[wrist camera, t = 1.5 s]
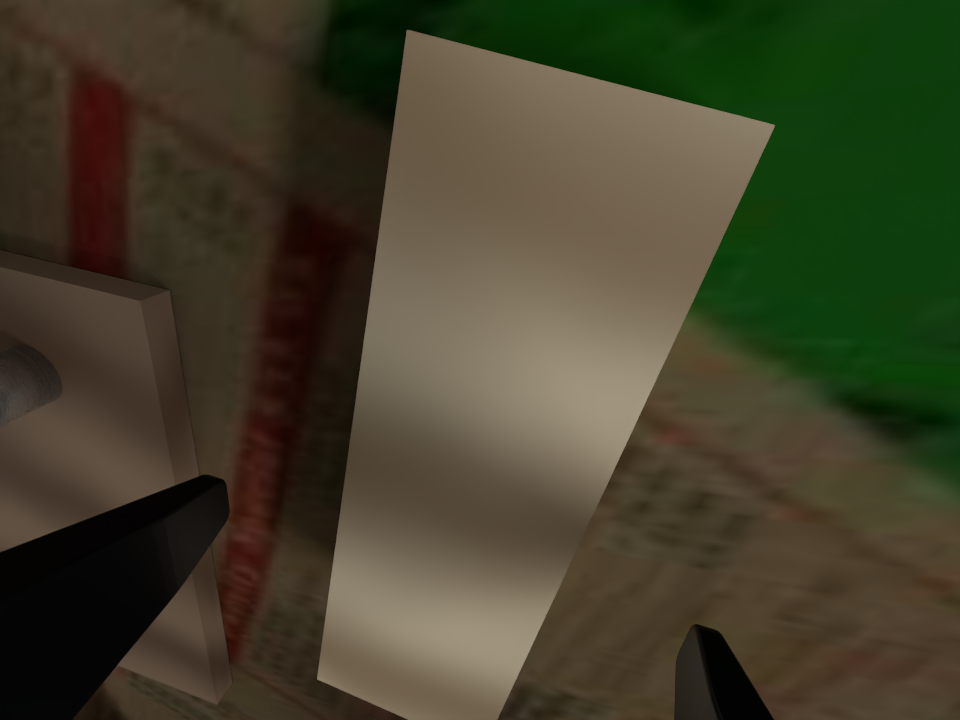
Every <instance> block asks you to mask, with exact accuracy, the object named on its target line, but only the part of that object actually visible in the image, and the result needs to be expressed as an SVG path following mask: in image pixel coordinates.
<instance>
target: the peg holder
mask: <svg viewBox="0 0 960 720" xmlns="http://www.w3.org/2000/svg"><path fill="white" fill-rule="evenodd" d="M198 476H199V471H198V465H197V458H196V452H195V446H194V440H193V433H192V427H191V421H190V415H189V409H188V402H187V396H186V390H185V384H184V377H183V371H182V365H181V359H180V353H179V346H178V340H177V334H176V328H175V321H174V315H173V309H172V303H171V297H170V290H167V289H163V288H158V287H154V286H150V285H146V284H141V283H137V282H133V281H129V280H125V279H120V278H116V277H112V276H108V275H103V274H99V273H95V272H91V271H86V270H82V269H78V268H74V267H70V266H65V265H61V264H57V263H53V262H48V261H44V260H40V259H36V258H32V257H27V256H23V255H19V254H15V253H10V252H6V251H2V250H0V552H2V551H4V550H7V549H10V548H12V547H15V546H17V545H20V544H23V543H25V542H28V541H31V540H33V539H36V538H38V537H41V536H44V535H46V534H49V533H52V532H54V531H57V530H59V529H62V528H65V527H67V526H70V525H72V524H75V523H78V522H80V521H83V520H86V519H88V518H91V517H93V516H96V515H99V514H101V513H104V512H106V511H109V510H112V509H114V508H117V507H120V506H122V505H125V504H127V503H130V502H133V501H135V500H138V499H141V498H143V497H146V496H148V495H151V494H154V493H156V492H159V491H161V490H164V489H167V488H169V487H172V486H175V485H177V484H180V483H182V482H185V481H188V480H190V479H193V478H195V477H198ZM118 666H120V667H123V668H125V669H128V670H130V671H133V672H135V673H138V674H140V675H143V676H146V677H148V678H151V679H153V680H156V681H158V682H161V683H163V684H166V685H168V686H171V687H173V688H176V689H178V690H181V691H183V692H186V693H189V694H191V695H194V696H196V697H199V698H201V699H204V700H206V701H209V702H211V703H214V704H216V705H217V704H218V703H219V701H220V700H221V699H222V697H223V696H224V694H225V693H226V691H227V690H228V689H229V687H230V686H231V684H232V683H233V682H232V676H231V670H230V664H229V658H228V651H227V645H226V639H225V633H224V626H223V620H222V614H221V608H220V602H219V595H218V589H217V583H216V577H215V570H214V564H213V558H212V552H211V546H209V548H208V549H207V551H206V552H205V554H204V555H203V556H202V558H201V559H200V561H199V562H198V564H197V565H196V567H195V568H194V570H193V571H192V573H191V574H190V575H189V577H188V578H187V580H186V581H185V583H184V584H183V585H182V587H181V588H180V589H179V591H178V592H177V593H176V595H175V596H174V597H173V598H172V600H171V601H170V602H169V603H168V605H167V606H166V607H165V608H164V609H163V611H162V612H161V613H160V614H159V615H158V617H157V618H156V619H155V620H154V622H153V623H152V624H151V625H150V626H149V628H148V629H147V630H146V631H145V632H144V634H143V635H142V636H141V637H140V638H139V640H138V641H137V642H136V643H135V645H134V646H133V647H132V648H131V649H130V651H129V652H128V653H127V654H126V655H125V657H124V658H123V659H122V660H121V661H120V663H119V664H118Z"/></svg>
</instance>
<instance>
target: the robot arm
mask: <svg viewBox="0 0 960 720" xmlns="http://www.w3.org/2000/svg"><path fill="white" fill-rule="evenodd" d="M229 511H230V509H229V501H228V493H227V486H226V483H225V481H224V480H223V479H220V478H217V477H214V476H211V475H201V476H198V477H195V478H193V479H190V480H188V481H185V482H182V483H180V484H177V485H175V486H172V487H169V488H167V489H164V490H161V491H159V492H156V493H154V494H151V495H148V496H146V497H143V498H141V499H138V500H135V501H133V502H130V503H127V504H125V505H122V506H120V507H117V508H114V509H112V510H109V511H106V512H104V513H101V514H99V515H96V516H93V517H91V518H88V519H86V520H83V521H80V522H78V523H75V524H72V525H70V526H67V527H65V528H62V529H59V530H57V531H54V532H52V533H49V534H46V535H44V536H41V537H38V538H36V539H33V540H31V541H28V542H25V543H23V544H20V545H17V546H15V547H12V548H10V549H7V550H4V551H2V552H0V720H72V719H73V718H74V717H75V716H76V715H77V713H78V712H79V711H80V710H81V709H82V707H83V706H84V705H85V704H86V703H87V701H88V700H89V699H90V698H91V697H92V695H93V694H94V693H95V692H96V690H97V689H98V688H99V687H100V686H101V684H102V683H103V682H104V681H105V680H106V678H107V677H108V676H109V675H110V674H111V672H112V671H113V670H114V669H115V667H116V666H117V665H118V664H119V663H120V661H121V660H122V659H123V658H124V657H125V655H126V654H127V653H128V652H129V651H130V649H131V648H132V647H133V646H134V645H135V643H136V642H137V641H138V640H139V638H140V637H141V636H142V635H143V634H144V632H145V631H146V630H147V629H148V628H149V626H150V625H151V624H152V623H153V622H154V620H155V619H156V618H157V617H158V615H159V614H160V613H161V612H162V611H163V609H164V608H165V607H166V606H167V605H168V603H169V602H170V601H171V600H172V598H173V597H174V596H175V595H176V593H177V592H178V591H179V589H180V588H181V587H182V585H183V584H184V583H185V581H186V580H187V578H188V577H189V575H190V574H191V573H192V571H193V570H194V568H195V567H196V565H197V564H198V562H199V561H200V559H201V558H202V556H203V555H204V554H205V552H206V551H207V549H208V548H209V546H210V545H211V543H212V542H213V540H214V539H215V537H216V536H217V534H218V533H219V532H220V530H221V529H222V527H223V526H224V524H225V523H226V521H227V519H228V516H229ZM674 720H774V719H773V717H772V716H771V714H770V712H769V711H768V709H767V707H766V706H765V704H764V702H763V701H762V699H761V698H760V696H759V694H758V693H757V691H756V689H755V688H754V686H753V685H752V683H751V681H750V680H749V678H748V676H747V675H746V673H745V672H744V670H743V668H742V667H741V665H740V663H739V662H738V660H737V658H736V657H735V655H734V654H733V652H732V650H731V649H730V647H729V645H728V644H727V642H726V641H725V639H724V637H723V636H722V634H721V633H720V632H718V631H717V630H715V629H711V628H708V627H705V626H702V625H698V624H695V625H693V626H692V627H691V628H690V630H689V632H688V634H687V636H686V638H685V640H684V642H683V644H682V647H681V649H680V651H679V653H678V656H677V661H676V675H675V715H674Z"/></svg>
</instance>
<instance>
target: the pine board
mask: <svg viewBox="0 0 960 720" xmlns="http://www.w3.org/2000/svg"><path fill="white" fill-rule="evenodd" d="M774 127H775V125H772V124H769V123H765V122H761V121H757V120H753V119H749V118H745V117H742V116H738V115H734V114H730V113H726V112H722V111H718V110H715V109H711V108H707V107H703V106H699V105H695V104H692V103H688V102H684V101H680V100H676V99H672V98H668V97H665V96H661V95H657V94H653V93H649V92H645V91H641V90H638V89H634V88H630V87H626V86H622V85H618V84H615V83H611V82H607V81H603V80H599V79H595V78H591V77H588V76H584V75H580V74H576V73H572V72H568V71H565V70H561V69H557V68H553V67H549V66H545V65H541V64H538V63H534V62H530V61H526V60H522V59H518V58H514V57H511V56H507V55H503V54H499V53H495V52H491V51H488V50H484V49H480V48H476V47H472V46H468V45H464V44H461V43H457V42H453V41H449V40H445V39H441V38H437V37H434V36H430V35H426V34H422V33H418V32H414V31H411V30H407V33H406V40H405V47H404V54H403V62H402V69H401V76H400V83H399V91H398V98H397V105H396V112H395V119H394V127H393V134H392V141H391V148H390V156H389V163H388V170H387V177H386V184H385V192H384V199H383V206H382V213H381V221H380V228H379V235H378V242H377V249H376V257H375V264H374V271H373V278H372V286H371V293H370V300H369V307H368V314H367V322H366V329H365V336H364V343H363V351H362V358H361V365H360V372H359V379H358V387H357V394H356V401H355V408H354V416H353V423H352V430H351V437H350V444H349V452H348V459H347V466H346V473H345V481H344V488H343V495H342V502H341V509H340V517H339V524H338V531H337V538H336V546H335V553H334V560H333V567H332V574H331V582H330V589H329V596H328V603H327V611H326V618H325V625H324V632H323V639H322V647H321V654H320V661H319V668H318V676H317V679H318V680H320V681H322V682H324V683H327V684H329V685H331V686H333V687H336V688H338V689H340V690H342V691H345V692H347V693H349V694H351V695H354V696H356V697H358V698H360V699H363V700H365V701H367V702H369V703H372V704H374V705H376V706H378V707H381V708H383V709H385V710H387V711H390V712H392V713H394V714H396V715H399V716H401V717H403V718H406V719H408V720H497V719H498V717H499V715H500V713H501V711H502V708H503V706H504V704H505V702H506V700H507V698H508V696H509V693H510V691H511V689H512V687H513V685H514V683H515V681H516V678H517V676H518V674H519V672H520V670H521V668H522V666H523V664H524V661H525V659H526V657H527V655H528V653H529V651H530V649H531V646H532V644H533V642H534V640H535V638H536V636H537V634H538V631H539V629H540V627H541V625H542V623H543V621H544V619H545V616H546V614H547V612H548V610H549V608H550V606H551V604H552V601H553V599H554V597H555V595H556V593H557V591H558V589H559V587H560V584H561V582H562V580H563V578H564V576H565V574H566V572H567V569H568V567H569V565H570V563H571V561H572V559H573V557H574V554H575V552H576V550H577V548H578V546H579V544H580V542H581V539H582V537H583V535H584V533H585V531H586V529H587V527H588V524H589V522H590V520H591V518H592V516H593V514H594V512H595V510H596V507H597V505H598V503H599V501H600V499H601V497H602V495H603V492H604V490H605V488H606V486H607V484H608V482H609V480H610V477H611V475H612V473H613V471H614V469H615V467H616V465H617V462H618V460H619V458H620V456H621V454H622V452H623V450H624V448H625V445H626V443H627V441H628V439H629V437H630V435H631V433H632V430H633V428H634V426H635V424H636V422H637V420H638V418H639V415H640V413H641V411H642V409H643V407H644V405H645V403H646V400H647V398H648V396H649V394H650V392H651V390H652V388H653V385H654V383H655V381H656V379H657V377H658V375H659V373H660V371H661V368H662V366H663V364H664V362H665V360H666V358H667V356H668V353H669V351H670V349H671V347H672V345H673V343H674V341H675V338H676V336H677V334H678V332H679V330H680V328H681V326H682V323H683V321H684V319H685V317H686V315H687V313H688V311H689V308H690V306H691V304H692V302H693V300H694V298H695V296H696V294H697V291H698V289H699V287H700V285H701V283H702V281H703V279H704V276H705V274H706V272H707V270H708V268H709V266H710V264H711V261H712V259H713V257H714V255H715V253H716V251H717V249H718V246H719V244H720V242H721V240H722V238H723V236H724V234H725V231H726V229H727V227H728V225H729V223H730V221H731V219H732V217H733V214H734V212H735V210H736V208H737V206H738V204H739V202H740V199H741V197H742V195H743V193H744V191H745V189H746V187H747V184H748V182H749V180H750V178H751V176H752V174H753V172H754V169H755V167H756V165H757V163H758V161H759V159H760V157H761V154H762V152H763V150H764V148H765V146H766V144H767V142H768V140H769V137H770V135H771V133H772V131H773V129H774Z"/></svg>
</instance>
